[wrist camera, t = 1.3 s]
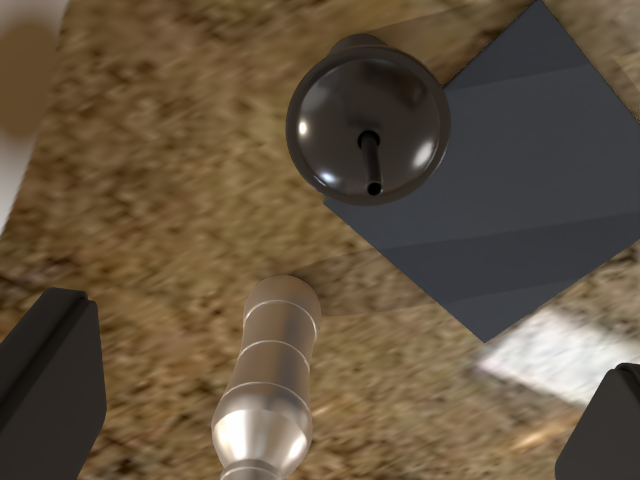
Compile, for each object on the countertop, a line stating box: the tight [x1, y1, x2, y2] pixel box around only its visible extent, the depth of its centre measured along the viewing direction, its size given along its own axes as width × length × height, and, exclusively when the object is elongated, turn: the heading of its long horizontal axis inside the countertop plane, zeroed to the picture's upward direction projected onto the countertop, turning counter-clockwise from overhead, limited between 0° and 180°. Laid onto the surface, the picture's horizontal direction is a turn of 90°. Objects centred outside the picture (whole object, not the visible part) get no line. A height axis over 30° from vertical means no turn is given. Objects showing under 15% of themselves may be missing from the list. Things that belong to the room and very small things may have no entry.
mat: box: [323, 0, 640, 343], centre depth 40 cm, size 20×20×1 cm
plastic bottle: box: [212, 275, 322, 480], centre depth 37 cm, size 6×7×20 cm
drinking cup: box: [286, 34, 451, 206], centre depth 27 cm, size 8×8×20 cm
